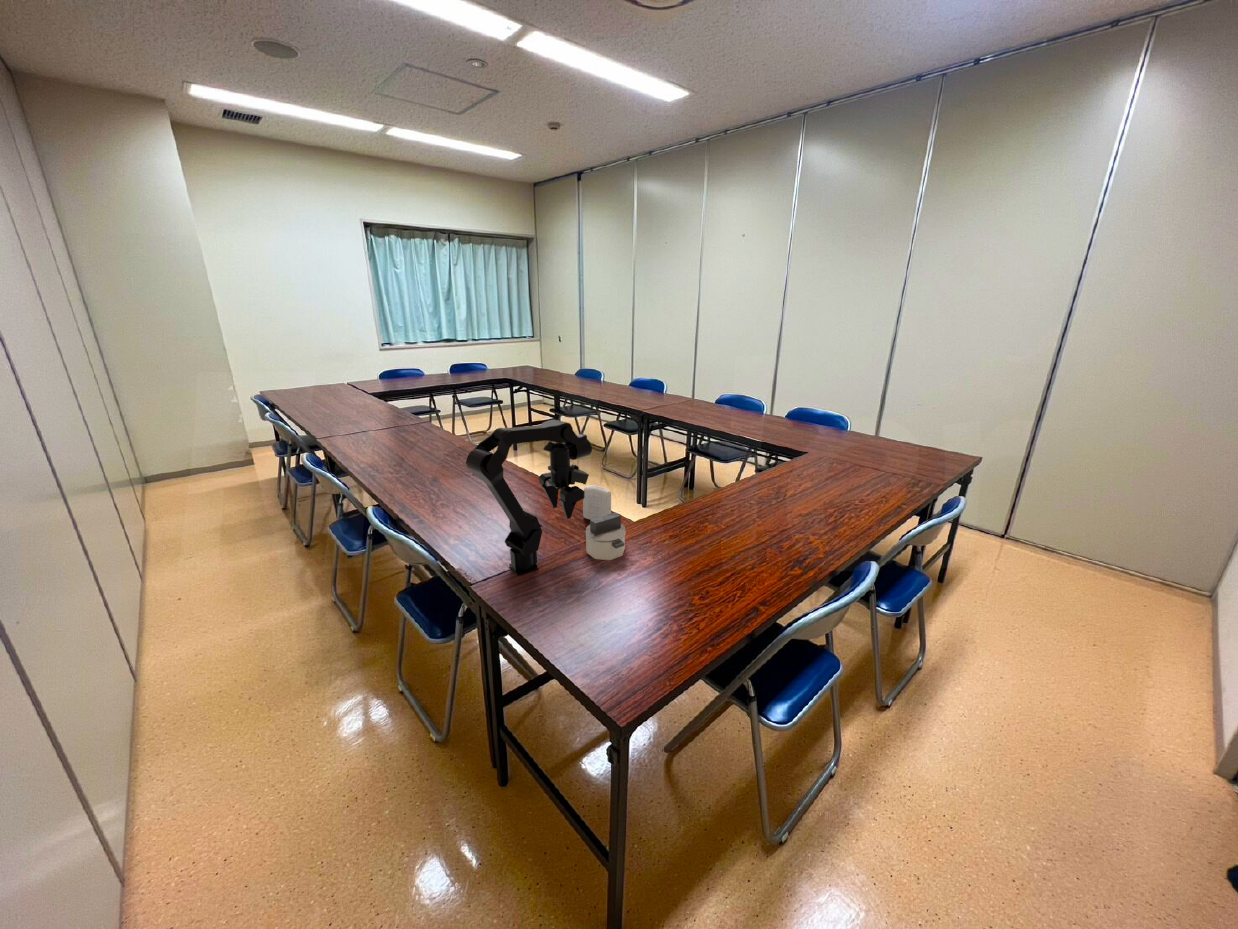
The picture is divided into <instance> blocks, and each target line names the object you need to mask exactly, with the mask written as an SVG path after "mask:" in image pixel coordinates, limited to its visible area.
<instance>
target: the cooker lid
mask: <svg viewBox="0 0 1238 929" xmlns="http://www.w3.org/2000/svg"><path fill="white" fill-rule="evenodd" d="M621 518H622V515H621V514H620V513H617V512H611V513H610V514H607V515H604V516H601V517H597V518H594V519H591V520H590V519H589V525H587V526H586V528H585V537H586V536H587V537H588V538H589V539H591V540H593V541H596V542H614V541H617V540H620V539H622V538H623V537H624V536H625V537H626V534H627V533H626V531H627V530H626V527H625V526H624V525H623V524H622V521H621V520H622V519H621Z"/></svg>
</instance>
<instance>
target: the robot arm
mask: <svg viewBox="0 0 1238 929" xmlns="http://www.w3.org/2000/svg"><path fill="white" fill-rule="evenodd" d="M542 441H548V443H547V444H546V445H544V447H543V451H545V452H549V462H550V464H549V465H548V466H547V470H548V471H550V472H544V473H541V474H540V475H539V477H538V483H539V484H540V486H541V488H542V489H543V491H544V493H545V494H546V497H547V499H548V500H549V503H550V504H551V506H552V508H553V509H554V508H555V509H556V508H557V507H558V500H559V501H560V504H561V506H562V509H563V512H564V515H565V517H566V519H567V520H569V519H571V517H572V515H573V512H574V510H575V506H576V504H577V503H578V502H581V501H583V499H584V498H585V492H584V491H583V490H584V489H583V488H580V487H579V486H577V485H576V483H579V484H582V485H587V482H588V478H589V476H590V474H589V473H588V472H585V471H584V470H581V469H580V466H578V465H577V464H574V463H573V464H571V461H575V460H580V459H583V458H586V457H587V456H591V454H592V451H593V447H592V444H591V442H590V440H589V439H588V435H587V434H585V433H579V434H578V435H577V434H576V432H575V431H574V429H573V426H572V424H571V423H570V422H566V421H563V420H558V419H549V420H546V421H544V422H542V423H541V424H538V425H528V426H527V425H526V426H517V427H516V426H515V427H504V428H503V427H499V428H496V429H495V430H494V431H493V432H492V433H491V435H489V436H487V437H486V438H484V439H483V440H482V441H480V442H479V443H478V444H477V445H476V447H474V449H473V450H471V451H469V453H468V455H467V457H466V460H465V464H466V467H467V468H468V470H470V472H472V474H473V475H475V476H476V477H477V478H478V479H479V480H481V481H482V482H483V483H484V484H485V485H486V486H487V488H488V489H489V490H490V492H491V494H492V496H493V497H494V499H495V500H496V502H497V503H498V504H499V506H500V507H501V510H502V511H503V512H504V514H505V516H506V517H507V519H508V520H509V524H508V526H509V529H510V532H509V533H508V535H507V536H506V537H505V540H504V543H505V545H506V547H508V548H509V554H510V563H509V564H508V566H509V568H510V569H511V570H512V571H513V572H514V573H515V574H516V575H517V576H523V574H528V573H530V572H533V571H535V570H538V569H539V565H537V564H538V552H537V551H539V549H540V548H539V547H540V543H541V540H542V539H541V538H542V535H543V529H542V528H543V525H542V524H540V522H539V519H538V517H537V516H536V515H534V514H532V513H529V512H527V511H525V510H524V508H523V507H522V506H521V504H520V502H519V501H518V499H517V498H516V495H515V494H514V492H513V490H511V489H512V488H511V487H510V486H509V485H508V482H507V481H506V479H505V478H504V467H503V464H504V462H505V461H506V460H507V458H508V456H509V451H510V448H511V447H512V446H513V445H515V444H527V443H535V442H542ZM494 449H496V450H495V451H494V452H493V453H492V450H494ZM570 485H571V486H570ZM559 490H560V491H559ZM559 497H560V498H559Z"/></svg>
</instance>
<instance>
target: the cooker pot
mask: <svg viewBox="0 0 1238 929" xmlns="http://www.w3.org/2000/svg"><path fill="white" fill-rule="evenodd" d="M585 542H586V543H585V544H586V546H585V547H586V551H585V552H586V553H587V554H588V555H589V556H591V557H592V558H593V559H594V560H603V561H612V560H614V559H617V558H619V557H622V556H623V555H624V553H625V552H624V551H625V550H626V535H625V536H624V537H623V538H622V539H620V540H617V541H614V542H596V541H593V540H591V539H589V538H588V537H587V536H586V535H585Z"/></svg>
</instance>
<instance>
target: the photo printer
mask: <svg viewBox="0 0 1238 929" xmlns="http://www.w3.org/2000/svg"><path fill="white" fill-rule="evenodd" d="M582 490H583V491H584V492H585V498H584V499H582V503H583V504H582V511H583V513H582V514H583V515H582V516H583V518H585V519H587V520H589V521H590V520H591V519H594V518H597V517H601V516H604V515H607V514H610V513H612V492H611V491H610V490H609V489H607V488H606V487H604V486H599V485H596V484H595V485H594V484H593V485H591V484H590V485H586V486H584V487H583V489H582Z"/></svg>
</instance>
